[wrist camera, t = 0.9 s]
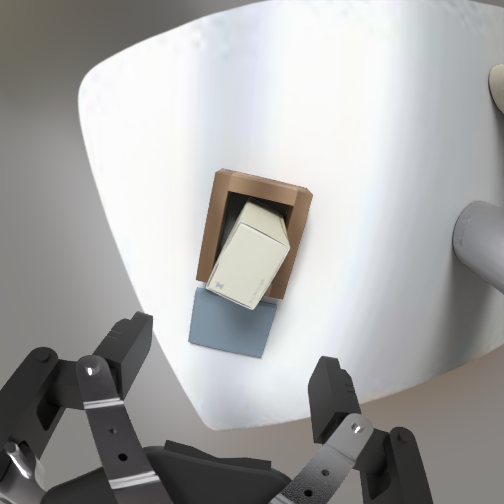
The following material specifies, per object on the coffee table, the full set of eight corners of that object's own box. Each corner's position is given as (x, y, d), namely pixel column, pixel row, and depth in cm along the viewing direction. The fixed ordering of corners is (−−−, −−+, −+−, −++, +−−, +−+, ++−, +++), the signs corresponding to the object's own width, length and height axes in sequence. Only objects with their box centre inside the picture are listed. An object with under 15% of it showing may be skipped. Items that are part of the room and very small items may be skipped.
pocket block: (306, 188, 32) (312, 194, 28) (280, 281, 36) (282, 299, 32) (222, 168, 32) (215, 172, 27) (203, 263, 36) (195, 279, 31)
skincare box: (257, 259, 35) (253, 314, 24) (223, 241, 35) (202, 290, 23) (284, 212, 33) (294, 248, 22) (248, 193, 33) (239, 220, 21)
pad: (276, 304, 37) (276, 308, 36) (261, 353, 40) (260, 357, 39) (197, 287, 37) (195, 291, 36) (189, 337, 39) (188, 341, 38)
